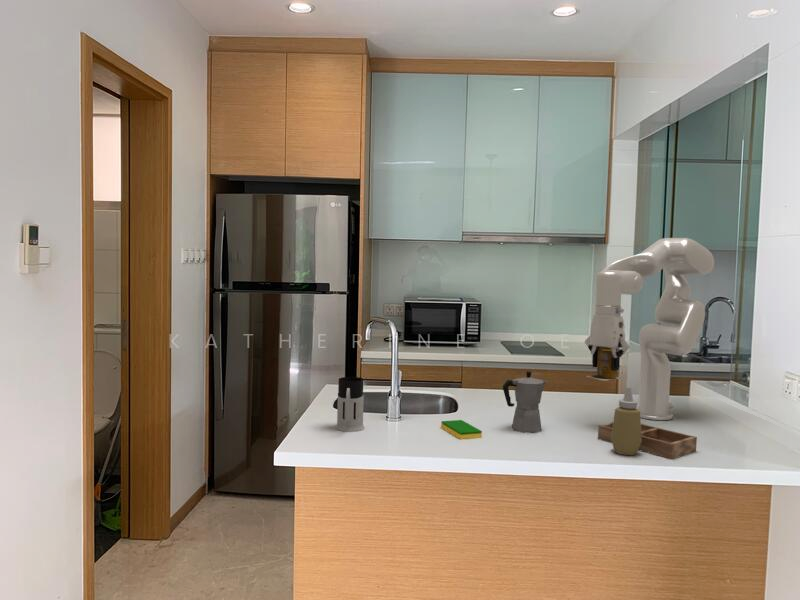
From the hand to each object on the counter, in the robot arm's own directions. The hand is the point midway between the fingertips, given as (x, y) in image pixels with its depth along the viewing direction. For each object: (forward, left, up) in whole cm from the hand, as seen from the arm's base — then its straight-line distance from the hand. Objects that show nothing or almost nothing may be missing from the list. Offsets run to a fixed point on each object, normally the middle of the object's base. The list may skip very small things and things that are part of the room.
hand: (605, 367), depth 202 cm
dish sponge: (+41, -21, -20) cm, 50 cm away
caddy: (+5, +18, -19) cm, 27 cm away
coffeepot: (+22, -13, -19) cm, 32 cm away
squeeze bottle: (+17, +19, -19) cm, 32 cm away
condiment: (0, 0, -3) cm, 3 cm away
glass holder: (+68, -41, -19) cm, 82 cm away
